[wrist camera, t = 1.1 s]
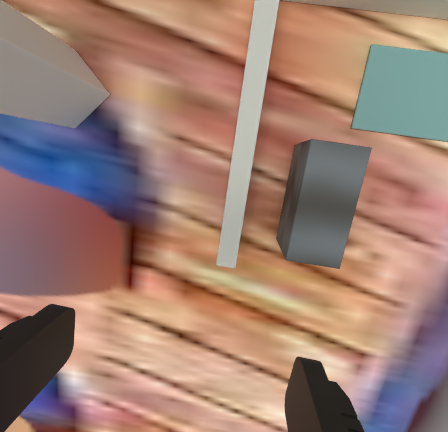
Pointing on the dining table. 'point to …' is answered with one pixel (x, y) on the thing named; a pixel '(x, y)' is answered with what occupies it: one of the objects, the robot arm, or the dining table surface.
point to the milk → (43, 74)
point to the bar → (321, 201)
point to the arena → (254, 92)
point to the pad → (404, 93)
